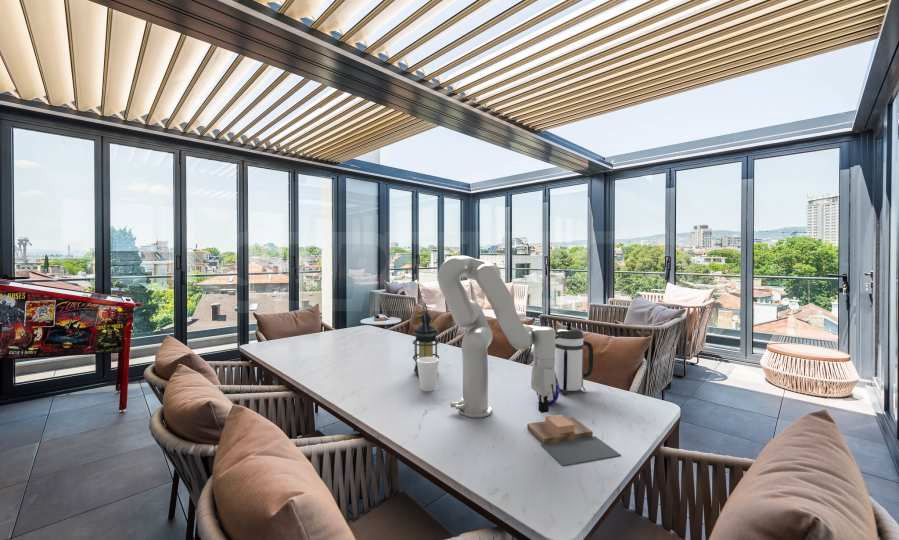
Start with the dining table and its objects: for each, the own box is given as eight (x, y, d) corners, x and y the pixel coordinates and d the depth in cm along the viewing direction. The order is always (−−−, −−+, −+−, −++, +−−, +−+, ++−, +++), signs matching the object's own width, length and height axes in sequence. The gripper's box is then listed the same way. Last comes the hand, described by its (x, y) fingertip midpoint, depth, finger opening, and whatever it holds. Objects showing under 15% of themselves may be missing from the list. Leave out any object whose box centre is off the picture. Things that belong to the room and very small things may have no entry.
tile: (558, 434, 125) (558, 426, 125) (545, 423, 133) (545, 416, 132) (574, 431, 127) (574, 424, 127) (560, 421, 134) (560, 414, 134)
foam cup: (413, 390, 168) (413, 361, 168) (422, 383, 177) (422, 355, 176) (433, 393, 165) (433, 363, 164) (441, 386, 173) (441, 358, 173)
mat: (562, 466, 110) (562, 465, 110) (540, 445, 122) (541, 444, 122) (620, 455, 116) (620, 454, 116) (595, 436, 127) (595, 436, 127)
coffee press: (583, 399, 159) (585, 327, 157) (545, 391, 167) (546, 323, 166) (592, 386, 174) (594, 320, 172) (557, 380, 182) (558, 317, 180)
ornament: (560, 408, 150) (560, 370, 149) (535, 406, 152) (536, 369, 151) (558, 397, 161) (558, 362, 160) (535, 396, 162) (536, 361, 162)
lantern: (438, 378, 185) (438, 305, 183) (411, 377, 185) (410, 305, 183) (439, 368, 199) (439, 301, 197) (414, 368, 199) (414, 301, 197)
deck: (543, 445, 122) (543, 438, 122) (527, 429, 132) (527, 423, 132) (592, 437, 127) (592, 431, 127) (572, 422, 138) (572, 417, 137)
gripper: (524, 356, 145) (524, 404, 146) (545, 368, 130) (545, 421, 131) (542, 355, 147) (542, 402, 148) (565, 366, 132) (564, 419, 133)
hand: (543, 411), depth 140 cm, fingers closed
